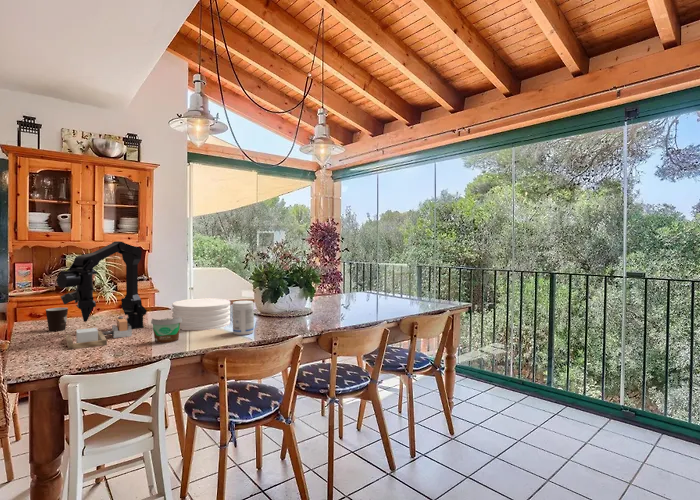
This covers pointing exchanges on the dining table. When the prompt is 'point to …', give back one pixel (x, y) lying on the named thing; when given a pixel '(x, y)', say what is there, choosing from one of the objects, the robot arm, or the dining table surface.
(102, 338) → the bay
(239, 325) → the supplement tub
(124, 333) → the block
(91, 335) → the tilted light grey box
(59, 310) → the coffee mug
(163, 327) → the food container
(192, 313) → the plate stack
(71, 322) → the dining table surface
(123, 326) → the crank handle
